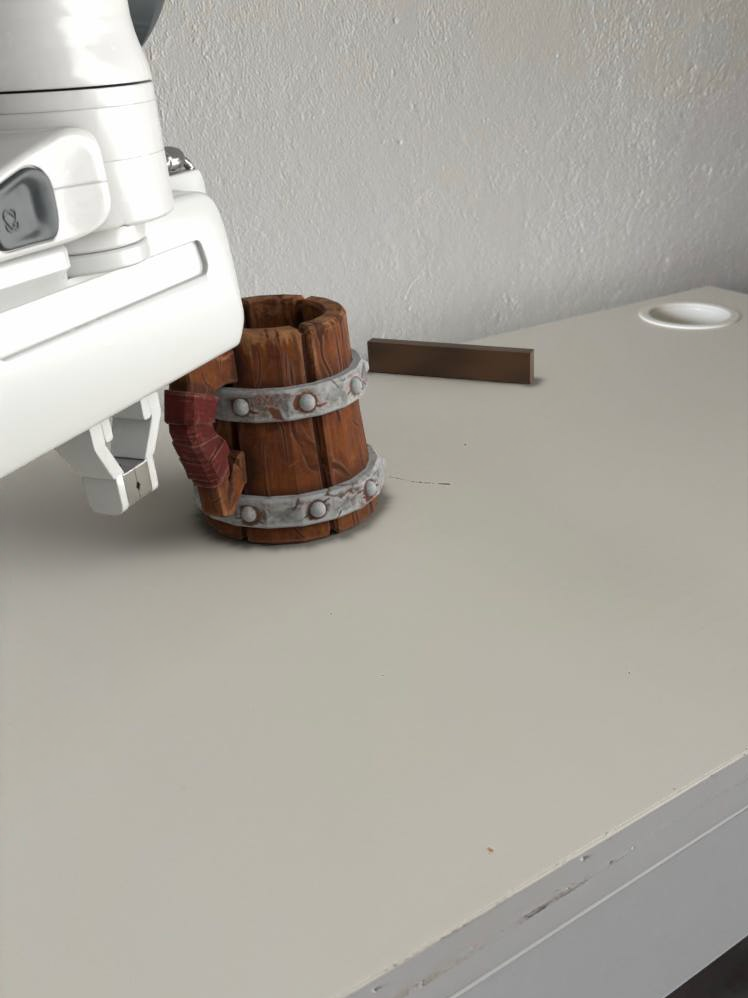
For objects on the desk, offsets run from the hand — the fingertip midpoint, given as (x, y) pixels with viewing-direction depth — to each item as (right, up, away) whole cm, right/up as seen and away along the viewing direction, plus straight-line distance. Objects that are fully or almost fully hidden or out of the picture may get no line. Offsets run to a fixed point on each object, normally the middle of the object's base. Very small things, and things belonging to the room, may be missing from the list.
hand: (125, 501), depth 47 cm
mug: (+4, +1, +15) cm, 16 cm away
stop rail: (+14, +16, +38) cm, 43 cm away
